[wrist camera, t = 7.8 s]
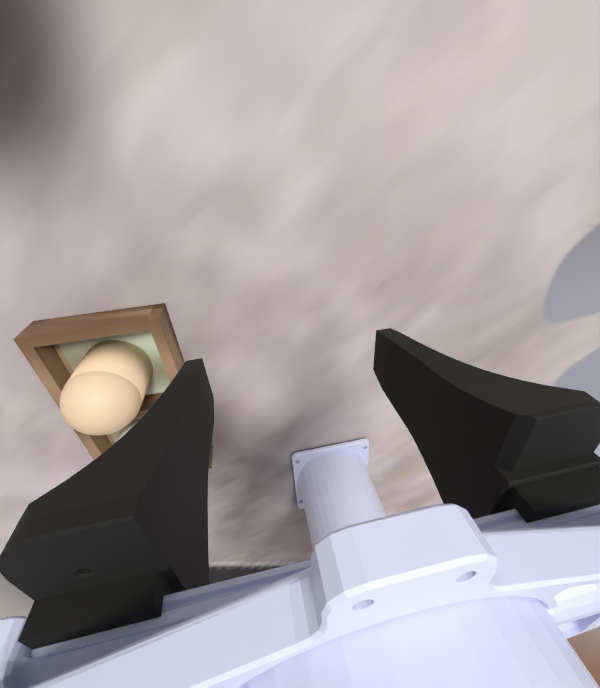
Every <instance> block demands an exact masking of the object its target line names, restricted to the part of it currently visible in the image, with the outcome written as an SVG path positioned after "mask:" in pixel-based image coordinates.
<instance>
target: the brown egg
mask: <svg viewBox="0 0 600 688" xmlns="http://www.w3.org/2000/svg"><path fill="white" fill-rule="evenodd" d="M152 371H153V366H152V362H151V360H150V358H149V356H148V355H147V354H146V353H145V351H143V350H142V349H141V348H139V347H138V346H136V345H134V344H132V343H129V342H126V341H121V340H107V341H102V342H99V343H97V344H95V345H94V346H92V347H91V348H90V349H89V350H88V352H87V353H86V354H85V356H84V357H83V359H82V360H81V362H80V363H79V365H78V366H77V368H76V369H75V371H74V372H73V374H72V375H71V377H70V378H69V380H68V381H67V383H66V384H65V386H64V388H63V390H62V392H61V395H60V403H59V405H60V411H61V414H62V416H63V418H64V420H65V421H66V422H67V423H68V425H69V426H71V427H72V428H73V429H75V430H76V431H79V432H81V433H84V434H87V435H96V436H99V435H107V434H111V433H114V432H117V431H119V430H121V429H123V428H124V427H126V426H127V425H128V424H129V423H130V422H131V421H132V420H133V419H134V418H135V417H136V415H137V414H138V412H139V410H140V407H141V405H142V402H143V399H144V396H145V393H146V390H147V387H148V384H149V381H150V378H151V375H152Z"/></svg>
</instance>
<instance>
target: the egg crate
mask: <svg viewBox="0 0 600 688" xmlns="http://www.w3.org/2000/svg"><path fill="white" fill-rule="evenodd" d="M107 340H121V341H126V342H129V343H132V344H134V345H136V346H138V347H139V348H141V349H142V350H143V351H145V353H146V354H147V355H148V356H149V358H150V360H151V362H152V366H153V371H152V375H151V378H150V381H149V384H148V387H147V390H146V393H145V396H144V399H143V402H142V405H141V407H140V410H139V412H138V414H137V415H136V417H135V418H134V419H133V420H136V419H141V418H142V417H143V416H144V415H145V414H146V413H147V412H148V410H149V409H150V408H151V407H152V406H153V404H154V403H155V402H156V401H157V400H158V399H159V397H160V396H161V395H162V393H163V392H164V391H165V389H166V388H167V387H168V385H169V384H170V383H171V381H172V380H173V379H174V377H175V376H176V374H177V373H178V372H179V370H180V369H181V367H182V366H183V365H184V360H183V357H182V354H181V351H180V348H179V345H178V342H177V339H176V336H175V333H174V330H173V327H172V324H171V321H170V318H169V314H168V311H167V308H166V305H165V303H163V304H156V305H148V306H141V307H134V308H126V309H119V310H112V311H105V312H97V313H90V314H83V315H75V316H68V317H61V318H53V319H46V320H39V321H33V322H32V323H31V324H30V325H29V326H27V327H26V328H25V329H24V330H23V331H22V332H21V333H20V334H19V335H18V336H17V337H15V338H14V341H15V342H16V344H17V345H18V347H19V348H20V350H21V351H22V353H23V354H24V356H25V357H26V359H27V360H28V362H29V363H30V365H31V366H32V368H33V369H34V371H35V372H36V374H37V375H38V377H39V378H40V380H41V381H42V383H43V384H44V386H45V387H46V389H47V390H48V392H49V393H50V395H51V396H52V398H53V399H54V401H55V402H56V404H57V405H58V407H59V408H60V405H59V403H60V395H61V392H62V390H63V388H64V386H65V384H66V383H67V381H68V380H69V378H70V377H71V375H72V374H73V372H74V371H75V369H76V368H77V366H78V365H79V363H80V362H81V360H82V359H83V357H84V356H85V354H86V353H87V352H88V350H89V349H90V348H91V347H92V346H94V345H95V344H97V343H99V342H102V341H107ZM74 431H75V432H76V434H77V435H78V437H79V438H80V440H81V441H82V443H83V444H84V446H85V447H86V449H87V450H88V452H89V453H90V455H91V456H92V458H93V459H94V460H95V459H96V458H98V457H99V456H100V455H101V454H103V453H104V452H105V451H106V450H107V449H109V448H110V447H111V446H112V445H113V444H114V443H116V442H117V440H118V437H119V435H120V432H121V430H119V431H117V432H114V433H111V434H107V435H99V436H96V435H87V434H84V433H81V432H79V431H76V430H75V429H74ZM212 448H213V447H212V444H211V451H210V459H209V468H212ZM209 468H208V469H209Z"/></svg>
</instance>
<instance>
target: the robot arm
mask: <svg viewBox="0 0 600 688" xmlns="http://www.w3.org/2000/svg"><path fill="white" fill-rule="evenodd" d="M373 370H374V372H375V374H376V376H377V379H378V381H379V383H380V385H381V387H382V389H383V391H384V392H385V394H386V396H387V397H388V399H389V400H390V402H391V403H392V405H393V407H394V408H395V410H396V411H397V413H398V414H399V416H400V417H401V419H402V420H403V422H404V424H405V425H406V427H407V428H408V430H409V432H410V433H411V435H412V437H413V439H414V440H415V442H416V444H417V446H418V448H419V450H420V452H421V454H422V456H423V459H424V461H425V463H426V465H427V467H428V469H429V471H430V473H431V476H432V478H433V480H434V482H435V485H436V487H437V489H438V491H439V494H440V496H441V498H442V501H443V503H444V504H437V505H431V506H427V507H423V508H419V509H415V510H410V511H406V512H402V513H398V514H394V515H389V516H387V515H386V512H385V510H384V508H383V505H382V503H381V501H380V498H379V496H378V493H377V491H376V489H375V486H374V484H373V482H372V479H371V477H370V475H369V472H368V470H367V468H368V456H369V444H370V443H369V440H368V439H360V440H355V441H350V442H345V443H340V444H335V445H330V446H325V447H320V448H315V449H311V450H306V451H301V452H296V453H294V454H292V456H291V458H292V466H293V474H294V482H295V490H296V498H297V505H298V508H299V509H305V514H306V519H307V524H308V528H309V533H310V538H311V543H312V548H313V552H312V554H311V557H310V560H307V561H303V562H299V563H295V564H291V565H287V566H282V567H278V568H274V569H270V570H266V571H262V572H258V573H254V574H250V575H246V576H242V577H238V578H234V579H230V580H226V581H222V582H218V583H214V584H210V585H209V564H208V510H207V497H208V468H209V459H210V451H211V442H212V433H213V424H214V400H213V394H212V391H211V387H210V384H209V380H208V377H207V374H206V370H205V367H204V363H203V360H202V358H201V359H195V360H189V361H186V362H185V363H184V365H183V366H182V367H181V369H180V370H179V372H178V373H177V374H176V376H175V377H174V379H173V380H172V381H171V383H170V384H169V385H168V387H167V388H166V389H165V391H164V392H163V393H162V395H161V396H160V397H159V399H158V400H157V401H156V402H155V403H154V404H153V406H152V407H151V408H150V409H149V410H148V412H147V413H146V414H145V415H144V416H143V417H142V418H141V419H140V420H139V421H138V422H137V423H136V424H135V425H134V426H133V427H132V428H131V429H130V430H129V431H128V432H127V433H126V434H125V435H124V436H123V437H121V438H120V439H119V440H118V441H117V442H116V443H114V444H113V445H112V446H111V447H110V448H109V449H107V450H106V451H105V452H104V453H103V454H101V455H100V456H99V457H98V458H96V459H95V460H94V461H92V462H91V463H90V464H88V465H87V466H86V467H84V468H83V469H82V470H80V471H79V472H77V473H76V474H75V475H73V476H72V477H70V478H69V479H67V480H66V481H64V482H63V483H61V484H60V485H58V486H57V487H55V488H54V489H52V490H50V491H49V492H47V493H46V494H44V495H43V496H41V497H40V498H38V499H36V500H35V501H33V502H31V503H30V504H29V505H28V507H27V508H26V510H25V512H24V514H23V515H22V517H21V519H20V521H19V522H18V524H17V526H16V528H15V530H14V531H13V533H12V535H11V537H10V539H9V541H8V542H7V544H6V546H5V548H4V550H3V551H2V553H1V555H0V572H1V574H2V575H3V576H4V577H5V578H6V579H7V580H8V581H9V582H10V583H12V584H13V585H15V586H16V587H17V588H18V589H20V590H21V591H23V592H24V593H25V594H27V595H28V596H29V597H31V598H32V599H33V600H35V601H34V604H33V606H32V609H31V611H30V613H29V616H28V617H25V616H12V617H6V618H2V619H0V688H599V686H598V685H597V683H596V682H595V680H594V679H593V677H592V676H591V674H590V673H589V671H588V670H587V668H586V667H585V666H584V664H583V663H582V661H581V660H580V658H579V657H578V655H577V654H576V652H575V651H574V649H573V648H572V647H571V645H570V644H569V642H568V641H567V638H570V637H572V636H575V635H578V634H580V633H583V632H586V631H588V630H591V629H593V628H596V627H599V626H600V467H599V466H600V457H598V456H597V455H596V454H595V453H594V450H595V449H596V448H597V446H598V445H599V443H600V402H599V401H597V400H596V399H594V398H593V397H592V396H590V395H589V394H588V393H586V392H584V391H578V390H572V389H566V388H559V387H553V386H547V385H541V384H537V383H532V382H527V381H522V380H518V379H514V378H510V377H506V376H503V375H499V374H496V373H492V372H489V371H486V370H482V369H480V368H477V367H474V366H471V365H468V364H466V363H463V362H460V361H458V360H455V359H453V358H451V357H448V356H446V355H444V354H442V353H439V352H437V351H435V350H433V349H431V348H429V347H427V346H425V345H423V344H421V343H419V342H417V341H415V340H413V339H411V338H409V337H407V336H406V335H404V334H402V333H400V332H398V331H395V330H393V329H391V328H389V329H382V330H376V341H375V354H374V367H373Z"/></svg>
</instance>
